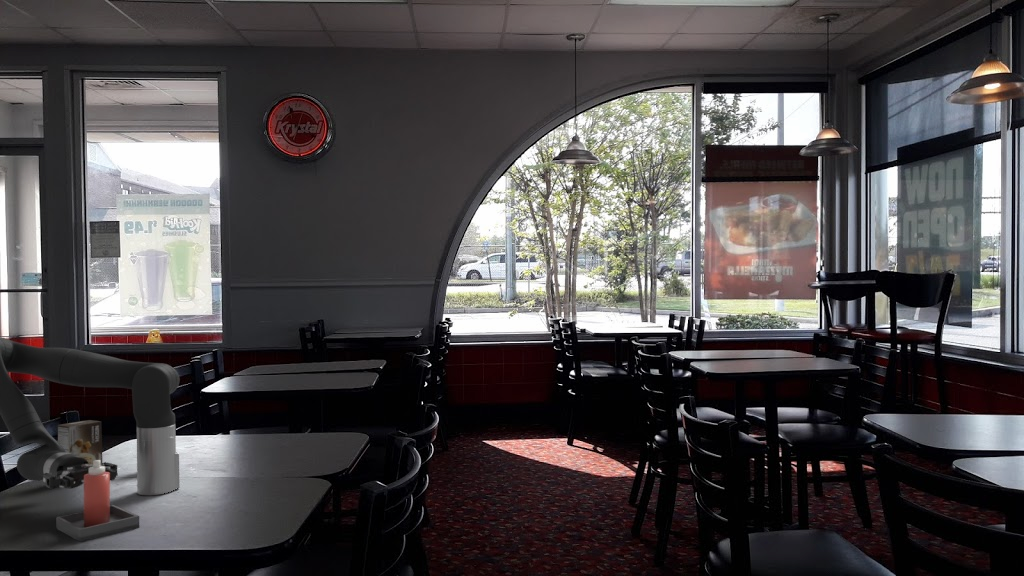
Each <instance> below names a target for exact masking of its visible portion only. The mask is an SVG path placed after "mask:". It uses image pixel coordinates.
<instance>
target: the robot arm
mask: <svg viewBox="0 0 1024 576" xmlns="http://www.w3.org/2000/svg"><path fill="white" fill-rule="evenodd" d="M9 373H15V374H25V375H31V376H35V377H38V378H40V379H43V380H46V381H49V382H53V383H58V384H62V385H67V386H74V387H79V388H81V387H83V388H121V389H129V390H131V393H132V394H131V395H132V409H133V410H132V413H133V417H134V419H135V422H136V473H137V474H136V480H137V482H136V483H137V484H136V487H137V491H136V492H137V495H141V496H157V495H163V494H164V493H165V494H168V492H169V493H172V492H174V491H175V490H174V489H176V488H181V487H180V486H181V485H180V453H179V452H177V448H176V447H177V446H176V445H177V443H176V414H175V412H173V410H172V407H171V394H173V393H174V392H175V391H177V389H178V387H179V386H180V385H179V384H180V381H181V379H180V375H179V373H178V371H177V370H176V369H175V368H174V367H172V366H171V365H170V364H167V363H163V362H161V363H160V362H143V361H133V360H126V359H121V358H117V357H114V356H110V355H105V354H101V353H96V352H91V351H86V350H81V349H73V348H67V347H38V346H33V345H29V344H25V343H20V342H18V341H14V340H11V339H9V338H5V337H1V336H0V416H1V419H2V420H3V422H4V425H5V427H6V428H7V430H8V432H9V434H10V436H11V438H12V440H13V442H14V443H15V444H16V445H25V444H31V443H32V444H33V443H35V444H39V445H41V446H39V447H36V448H33V449H30V450H28V451H25V452H24V453H22V454H21V455H20V456H19V457H18V458H17V462H16V469H17V471H18V473H19V475H20V476H21V477H23V478H24V479H26V480H28V481H35V482H37V481H43V483H42V484H43V486H44V487H46V488H48V489H51V490H53V489H56V488H57V486H58V487H59V488H64V489H74V488H78V487H80V486H81V485H84V475H85V474H89V468H90V467H93V465H90V464H89V462H88V461H87V460H86V459H85V458H83V457H81V456H77V455H74V454H71V453H66V451H65V449H64V448H63V447H62V446H61V445H60V444H59V443H58V440H56V438H54V437H53V436H52V434H50V433H49V431H48V430H47V429H46V427H45V426H44V424H43V422H42V420H41V418H40V416H39V415H38V413H37V411H36V408H35V407H34V406H33V404H32V402H31V401H30V400H29V399H28V397H27V396H26V395H25V394H24V393H23V392H22V390H21V389H20V388H19V387H18V386H17V384H16V383H15V382H14V381H13V379H12V378H11V376H10V374H9ZM102 466H105V472H109V473H110V481H115V479H116V478H117V476H118V464H115V463H111V462H106V461H104V462H103V463H102ZM173 490H174V491H173ZM171 491H172V492H171ZM165 494H164V495H165Z"/></svg>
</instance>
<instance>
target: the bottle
mask: <svg viewBox="0 0 1024 576" xmlns="http://www.w3.org/2000/svg"><path fill="white" fill-rule="evenodd" d="M110 485H111V480H110V473H109V472H105V466H101V460H95V461H93V467H90V468H89V474H85V475H84V483H83V511H84V527H90V526H95V525H99V524H103V523H108V522H110V506H111V504H110V503H111V502H110V501H111V498H110V495H111V494H110V493H111V490H110V489H111V486H110Z"/></svg>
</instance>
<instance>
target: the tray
mask: <svg viewBox="0 0 1024 576" xmlns="http://www.w3.org/2000/svg"><path fill="white" fill-rule="evenodd" d="M55 519H56V520H55V522H56V523H55V524H56V526H55V527H56V530H58V531H59V532H62V533H64V534H65V535H66V536H69V537H71V538H72V539H75V540H76V541H78V542H79V543H81V542H85V541H88V540H89V541H90V540H94V539H98V538H101V537H104V536H110V535H113V534H117V533H118V534H119V533H122V532H126V531H130V530H134V529H138V528H140V515H137V514H135V513H133V512H131V511H128V510H126V509H124V508H121V507H119V506H118V505H115V504H112V505H111V504H110V522H108V523H103V524H99V525H95V526H90V527H84V510H83V511H78V512H75V513H71V514H65V515H60V516H56V517H55Z"/></svg>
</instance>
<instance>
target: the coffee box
mask: <svg viewBox="0 0 1024 576" xmlns="http://www.w3.org/2000/svg"><path fill="white" fill-rule="evenodd" d="M102 434H103V433H102V421H99V420H91V419H88V420H81V421H75V422H69V423H63V424H62V423H61V424H57V442H58V443H59V444H60V445H61V446H62V447H63V448H64V449H65V451H66V453H71V454H74V455H77V456H81V457H83V458H85V459H86V460H87V461H88V462H89V464H90V465H93V461H95V460H101V466H102V463H104V462H103V439H102V438H103V435H102Z"/></svg>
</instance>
